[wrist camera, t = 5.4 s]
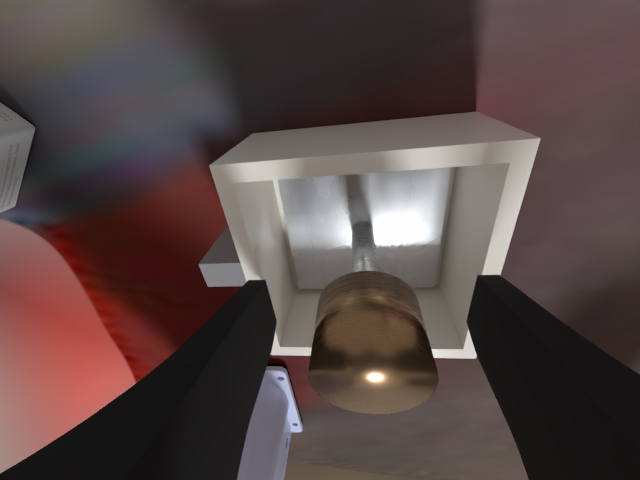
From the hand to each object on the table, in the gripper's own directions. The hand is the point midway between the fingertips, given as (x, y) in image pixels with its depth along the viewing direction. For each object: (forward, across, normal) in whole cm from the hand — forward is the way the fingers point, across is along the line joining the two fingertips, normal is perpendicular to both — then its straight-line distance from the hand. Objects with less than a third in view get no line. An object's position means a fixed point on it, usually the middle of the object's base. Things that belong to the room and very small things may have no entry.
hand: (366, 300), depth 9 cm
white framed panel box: (+6, 0, 0) cm, 6 cm away
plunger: (+5, 0, 0) cm, 5 cm away
